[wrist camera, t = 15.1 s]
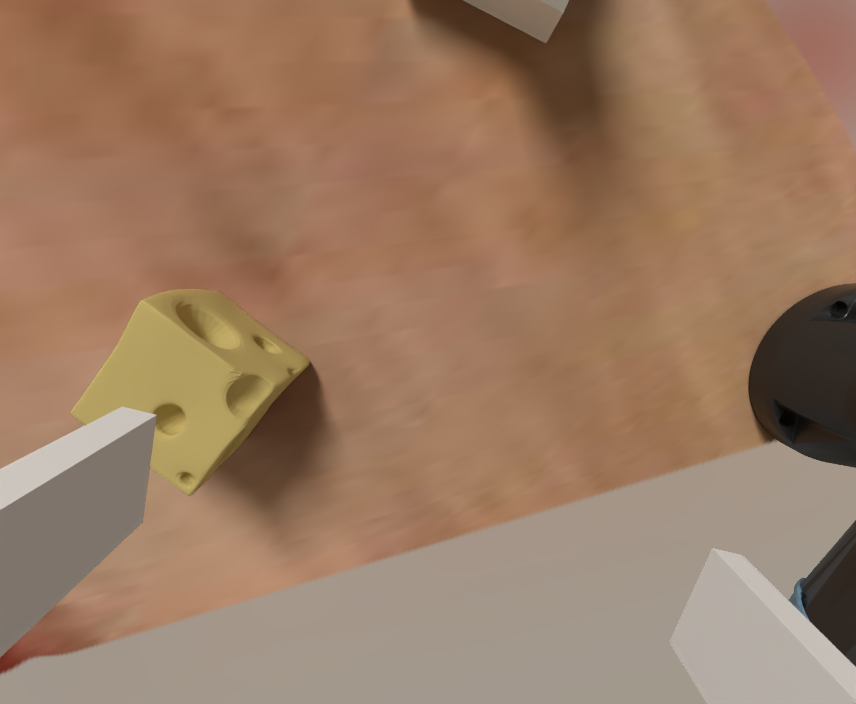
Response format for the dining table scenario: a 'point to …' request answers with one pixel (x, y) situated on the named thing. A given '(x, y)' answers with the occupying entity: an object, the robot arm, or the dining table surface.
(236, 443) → the cheese
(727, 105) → the dining table surface
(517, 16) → the cream block
